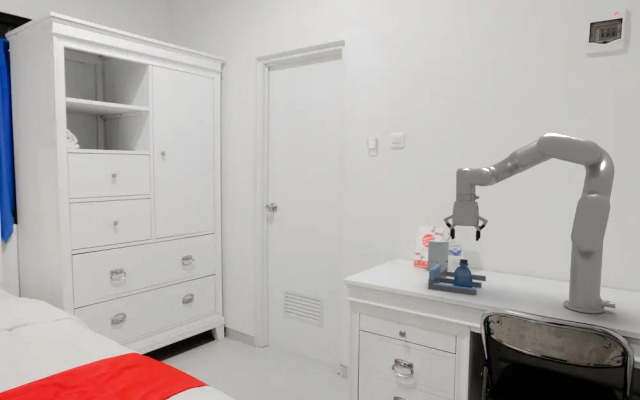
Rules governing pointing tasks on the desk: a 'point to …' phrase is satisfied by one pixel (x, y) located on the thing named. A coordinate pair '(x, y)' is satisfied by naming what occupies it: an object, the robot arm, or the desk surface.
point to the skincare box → (438, 253)
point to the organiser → (450, 281)
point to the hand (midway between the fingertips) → (465, 239)
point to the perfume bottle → (463, 275)
